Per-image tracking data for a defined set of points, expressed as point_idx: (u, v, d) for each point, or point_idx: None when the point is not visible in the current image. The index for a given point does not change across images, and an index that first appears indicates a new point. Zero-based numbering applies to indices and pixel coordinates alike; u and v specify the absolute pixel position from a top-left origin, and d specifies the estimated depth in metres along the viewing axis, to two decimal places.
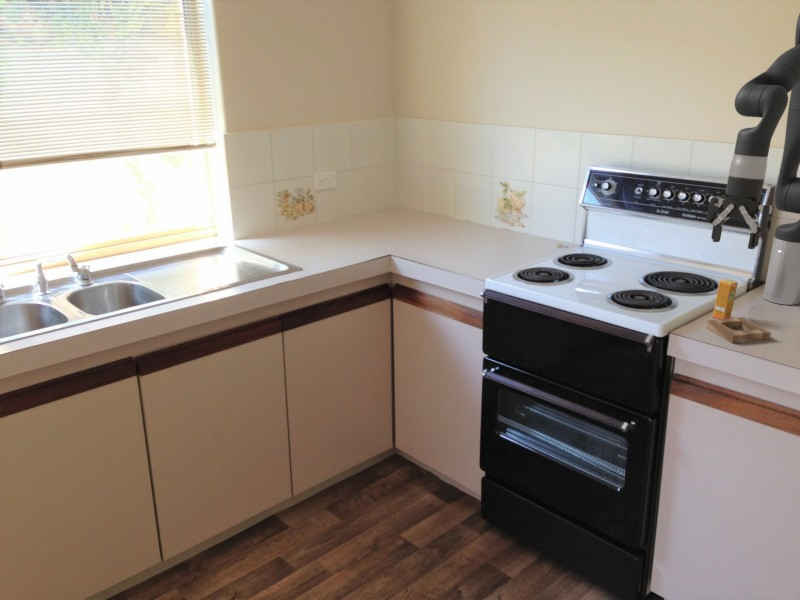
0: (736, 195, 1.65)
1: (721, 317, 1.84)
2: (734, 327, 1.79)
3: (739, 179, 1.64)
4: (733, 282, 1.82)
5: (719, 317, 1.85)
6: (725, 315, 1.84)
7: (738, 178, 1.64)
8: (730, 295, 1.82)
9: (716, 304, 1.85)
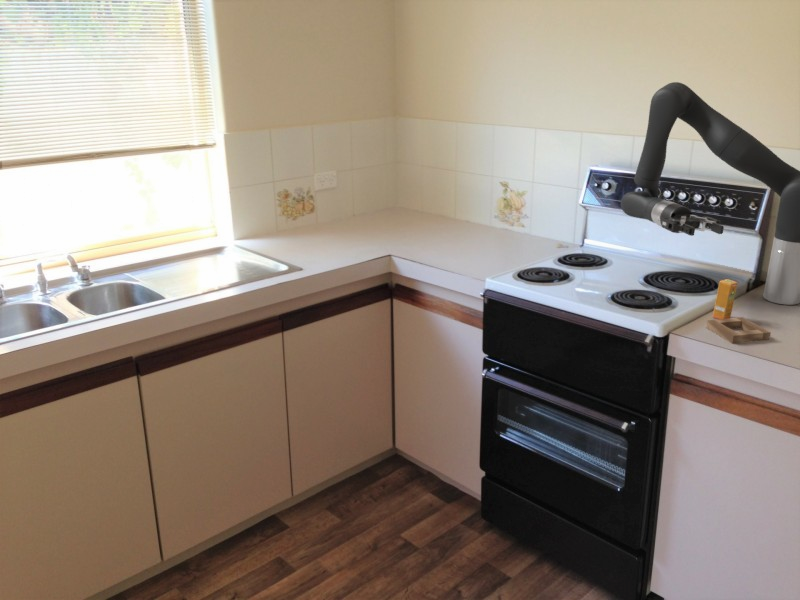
0: (677, 232, 2.01)
1: (721, 317, 1.84)
2: (734, 327, 1.79)
3: None
4: (733, 282, 1.82)
5: (719, 317, 1.85)
6: (725, 315, 1.84)
7: None
8: (730, 295, 1.82)
9: (716, 304, 1.85)
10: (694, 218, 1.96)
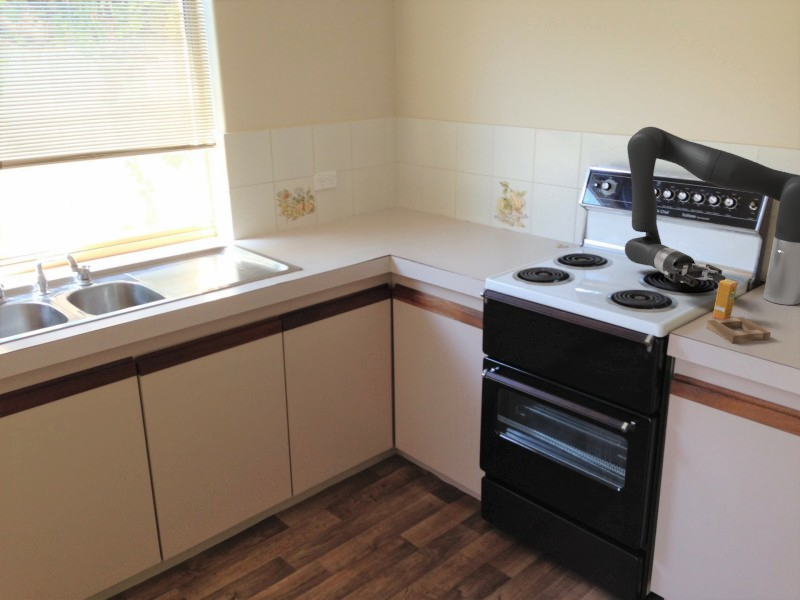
0: None
1: (721, 317, 1.84)
2: (734, 327, 1.79)
3: None
4: (733, 282, 1.82)
5: (719, 317, 1.85)
6: (725, 315, 1.84)
7: None
8: (730, 295, 1.82)
9: (716, 304, 1.85)
10: (696, 267, 1.97)
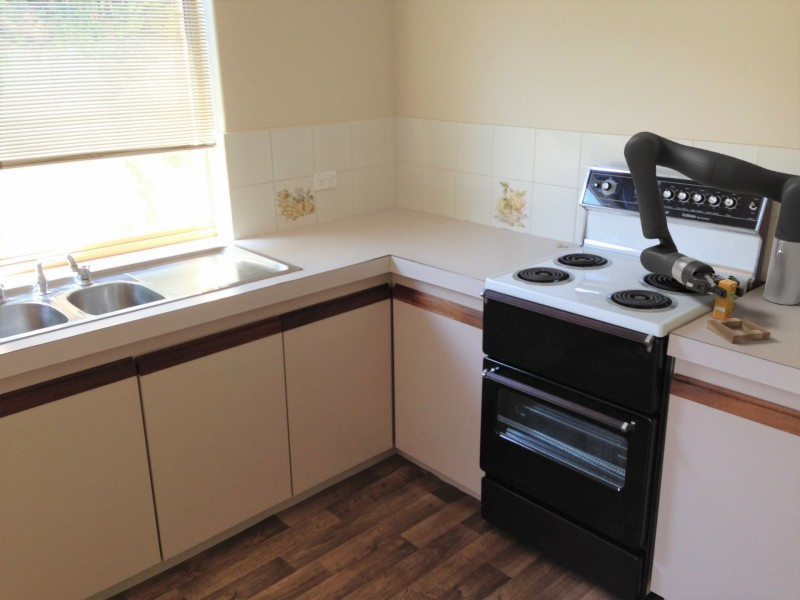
0: None
1: (721, 317, 1.84)
2: (734, 327, 1.79)
3: None
4: (733, 282, 1.82)
5: (719, 317, 1.85)
6: (725, 315, 1.84)
7: None
8: (730, 295, 1.82)
9: (716, 304, 1.85)
10: (715, 277, 1.89)
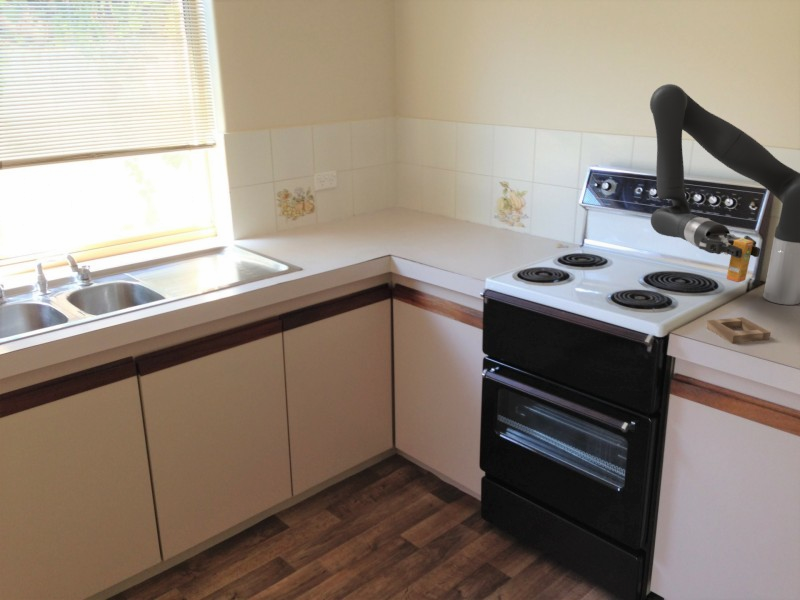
0: None
1: (735, 278, 1.75)
2: (734, 327, 1.79)
3: None
4: (748, 241, 1.72)
5: (733, 278, 1.75)
6: (740, 276, 1.74)
7: None
8: (745, 254, 1.72)
9: (730, 265, 1.75)
10: (730, 237, 1.79)
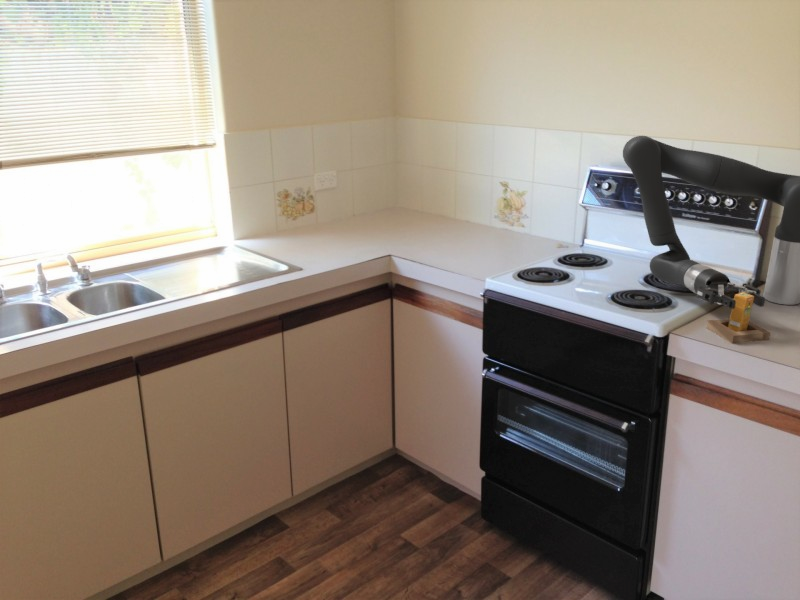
0: None
1: None
2: None
3: None
4: (749, 296, 1.72)
5: None
6: (741, 330, 1.74)
7: None
8: (746, 309, 1.72)
9: (731, 319, 1.75)
10: (732, 287, 1.79)
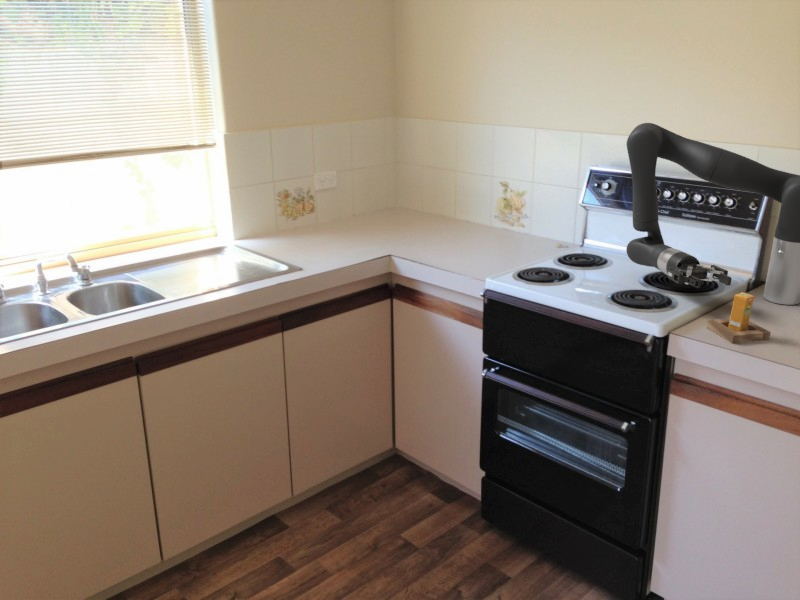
0: (684, 282, 1.95)
1: None
2: None
3: None
4: (749, 296, 1.72)
5: None
6: (741, 330, 1.74)
7: None
8: (746, 309, 1.72)
9: (731, 319, 1.75)
10: (701, 268, 1.90)
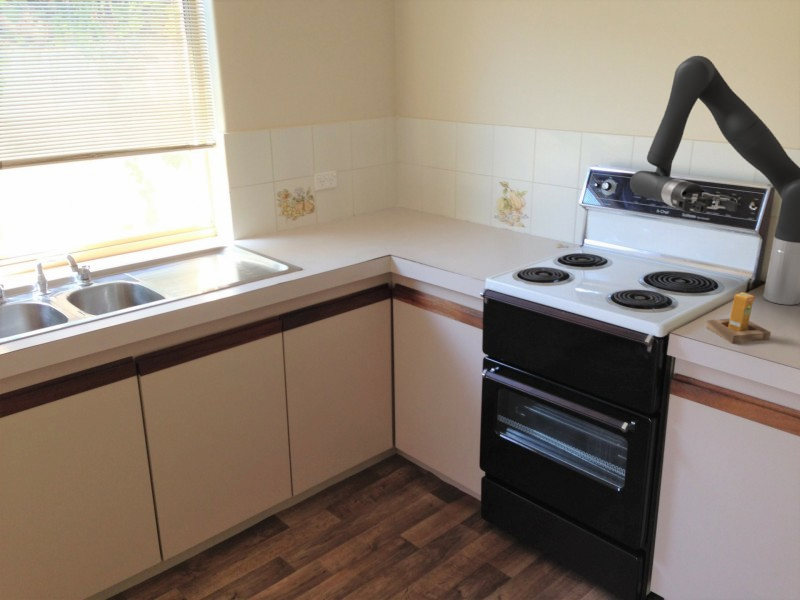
0: None
1: None
2: None
3: None
4: (749, 296, 1.72)
5: None
6: (741, 330, 1.74)
7: None
8: (746, 309, 1.72)
9: (731, 319, 1.75)
10: (706, 196, 1.86)
